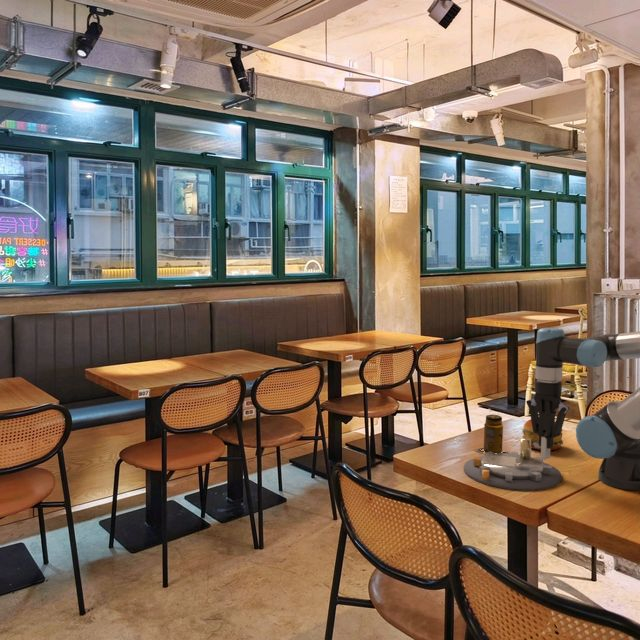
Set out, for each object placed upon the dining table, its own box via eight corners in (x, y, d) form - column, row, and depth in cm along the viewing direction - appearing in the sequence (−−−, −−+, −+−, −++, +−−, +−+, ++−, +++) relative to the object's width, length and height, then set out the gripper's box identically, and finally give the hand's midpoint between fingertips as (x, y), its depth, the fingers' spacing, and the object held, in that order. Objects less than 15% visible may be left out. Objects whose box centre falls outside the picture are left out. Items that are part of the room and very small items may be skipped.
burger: (560, 442, 218) (561, 415, 217) (565, 454, 205) (566, 425, 204) (520, 440, 221) (521, 412, 220) (523, 451, 208) (524, 422, 207)
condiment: (507, 452, 207) (508, 417, 206) (490, 456, 203) (491, 420, 201) (490, 446, 213) (491, 412, 212) (473, 450, 209) (474, 415, 207)
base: (579, 475, 184) (580, 464, 184) (525, 498, 167) (526, 485, 167) (500, 452, 206) (500, 442, 206) (444, 470, 189) (445, 459, 188)
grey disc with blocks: (565, 471, 185) (566, 444, 184) (522, 488, 171) (523, 459, 170) (502, 452, 202) (503, 428, 201) (458, 467, 188) (459, 441, 187)
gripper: (575, 382, 180) (572, 461, 182) (535, 375, 190) (533, 450, 193) (562, 385, 175) (558, 466, 178) (521, 378, 186) (519, 455, 188)
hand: (545, 457), depth 185 cm, fingers closed
